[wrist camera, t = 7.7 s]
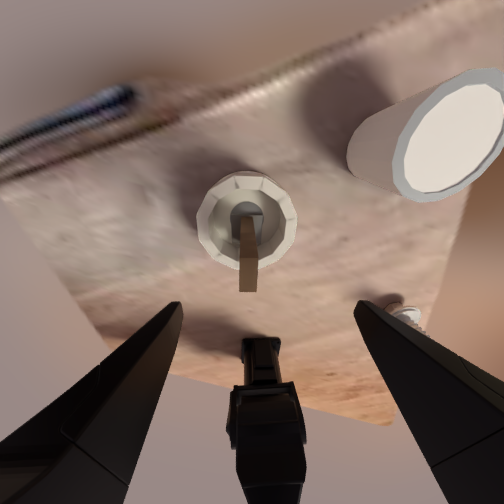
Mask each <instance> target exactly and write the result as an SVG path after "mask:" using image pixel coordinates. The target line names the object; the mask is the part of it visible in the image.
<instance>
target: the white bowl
mask: <svg viewBox="0 0 504 504" xmlns="http://www.w3.org/2000/svg"><path fill="white" fill-rule="evenodd" d="M231 213H253V214H262V215H263V220H262V234H261V244H257V250H258V257H259V260H258V270H259V269H261V268H263V267H265V266H268V265H270V264H272V263H274V262H276V261H278V260H280V258H281V257H282V256H283V255H284V254H285V252H286V251H287V250H288V249H289V247H290V246H291V245H292V244H293V242H294V238H295V232H296V227H297V221H298V217H297V214H296V212H295V209H294V207H293V204H292V202H291V200H290V197H289V195H288V193H287V192H286V191H285V190H284V189H283V188H281V187H280V186H279V185H278V184H277V183H276V182H275V181H273V180H272V179H271V178H269V177H268V176H266V175H264V174H262V173H258V172H254V171H239V172H235V173H232V174H229V175H227V176H225V177H223V178H222V179H220V180H219V181H218V182H217V183H216V184H214V185H213V186H212V187H211V188H210V190H209V191H208V192H207V194H206V196H205V198H204V200H203V202H202V204H201V206H200V208H199V210H198V212H197V214H196V219H197V228H198V236H199V241H200V242H201V244H202V245H203V246H204V248H205V249H206V250H207V252H208V253H209V254H210V256H211V257H212V258H213V259H214V260H216V261H218V262H220V263H222V264H224V265H226V266H228V267H230V268H232V269H235V270H239V256H240V243H232V230H231Z"/></svg>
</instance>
